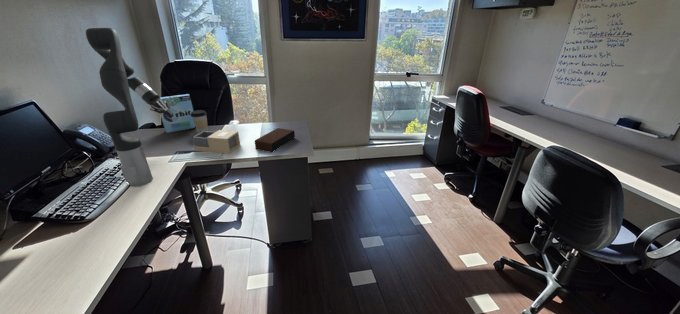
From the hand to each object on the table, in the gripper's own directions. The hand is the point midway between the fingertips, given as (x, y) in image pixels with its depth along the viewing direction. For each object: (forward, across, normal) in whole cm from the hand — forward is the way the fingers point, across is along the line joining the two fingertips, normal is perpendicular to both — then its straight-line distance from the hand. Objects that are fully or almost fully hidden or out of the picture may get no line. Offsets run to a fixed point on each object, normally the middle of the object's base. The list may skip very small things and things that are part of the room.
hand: (172, 116), depth 160 cm
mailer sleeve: (+30, 0, -6) cm, 31 cm away
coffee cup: (+14, +19, +11) cm, 26 cm away
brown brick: (+53, +13, -27) cm, 61 cm away
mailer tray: (+29, 0, -6) cm, 29 cm away
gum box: (0, +24, +25) cm, 35 cm away
